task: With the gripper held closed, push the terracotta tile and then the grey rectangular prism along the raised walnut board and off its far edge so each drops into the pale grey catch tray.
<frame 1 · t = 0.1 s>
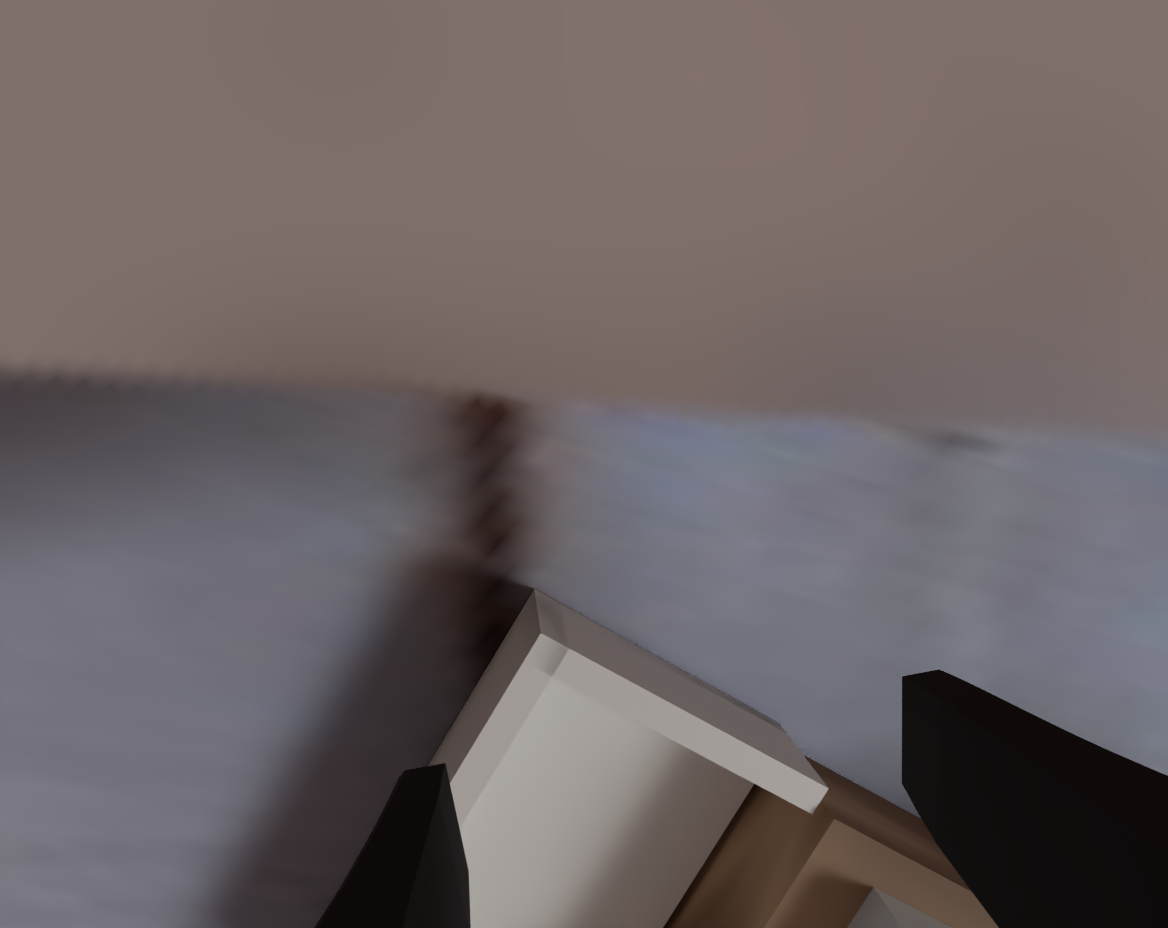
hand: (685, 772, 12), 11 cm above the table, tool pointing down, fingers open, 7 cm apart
tray: (547, 841, 23), on the table
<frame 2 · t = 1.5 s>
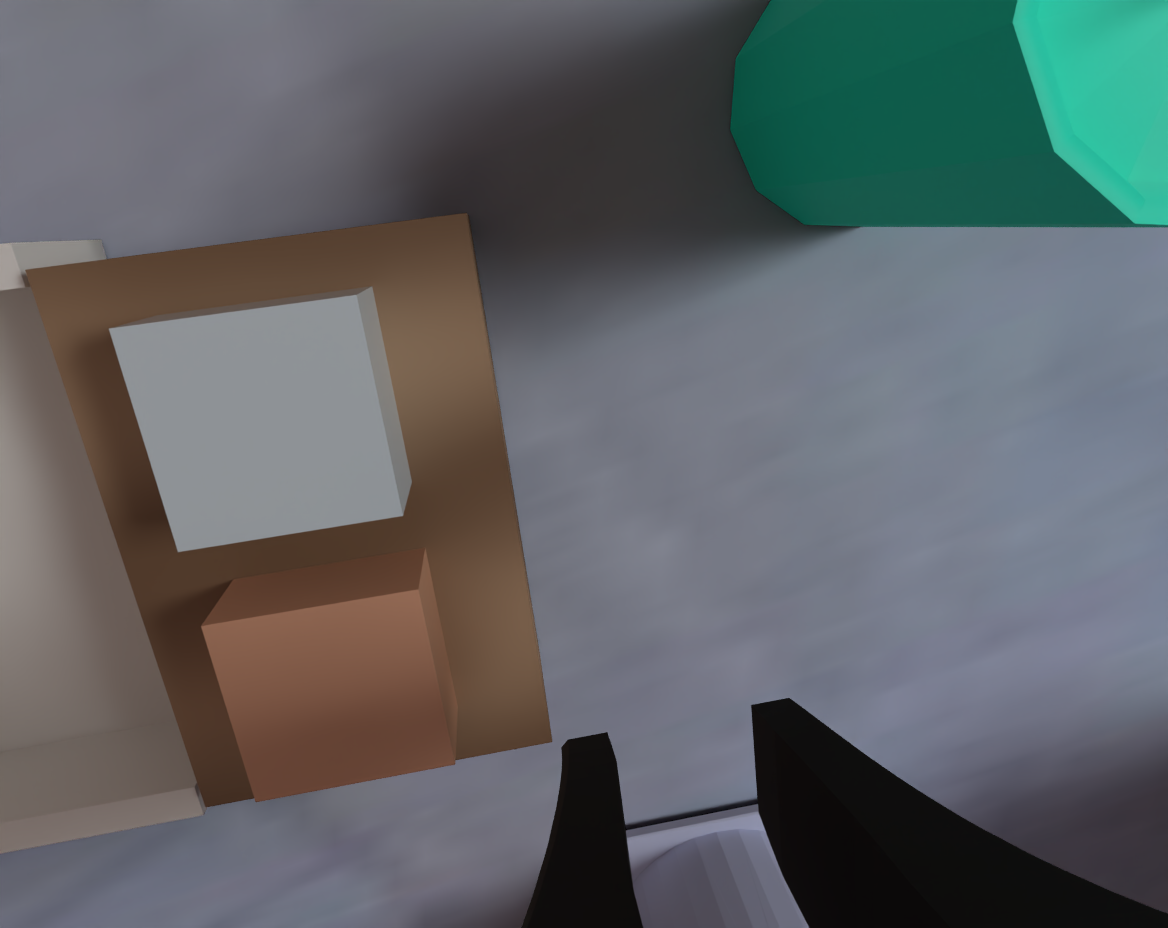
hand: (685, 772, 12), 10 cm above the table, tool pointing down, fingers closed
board: (353, 478, 20), on the table
tile terracotta: (350, 646, 17), point 4 cm above the table, touching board
candle: (844, 102, 19), on the table
tray: (3, 533, 19), on the table
grey rectangular prism: (290, 402, 15), point 4 cm above the table, touching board
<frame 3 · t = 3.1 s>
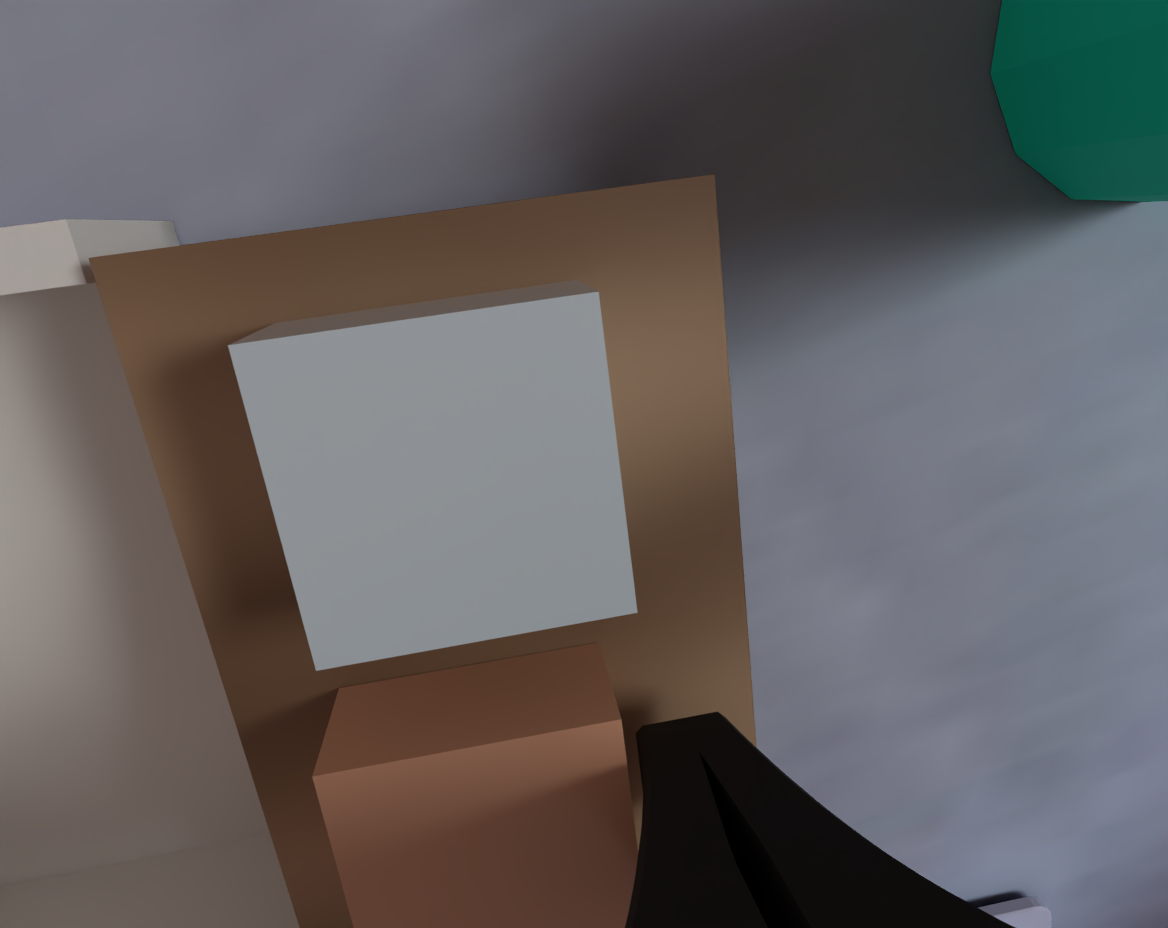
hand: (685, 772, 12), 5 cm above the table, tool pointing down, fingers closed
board: (486, 529, 16), on the table
tile terracotta: (491, 772, 13), point 4 cm above the table, touching gripper
candle: (1133, 38, 15), on the table
tray: (39, 604, 15), on the table
grey rectangular prism: (455, 444, 11), point 4 cm above the table, touching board
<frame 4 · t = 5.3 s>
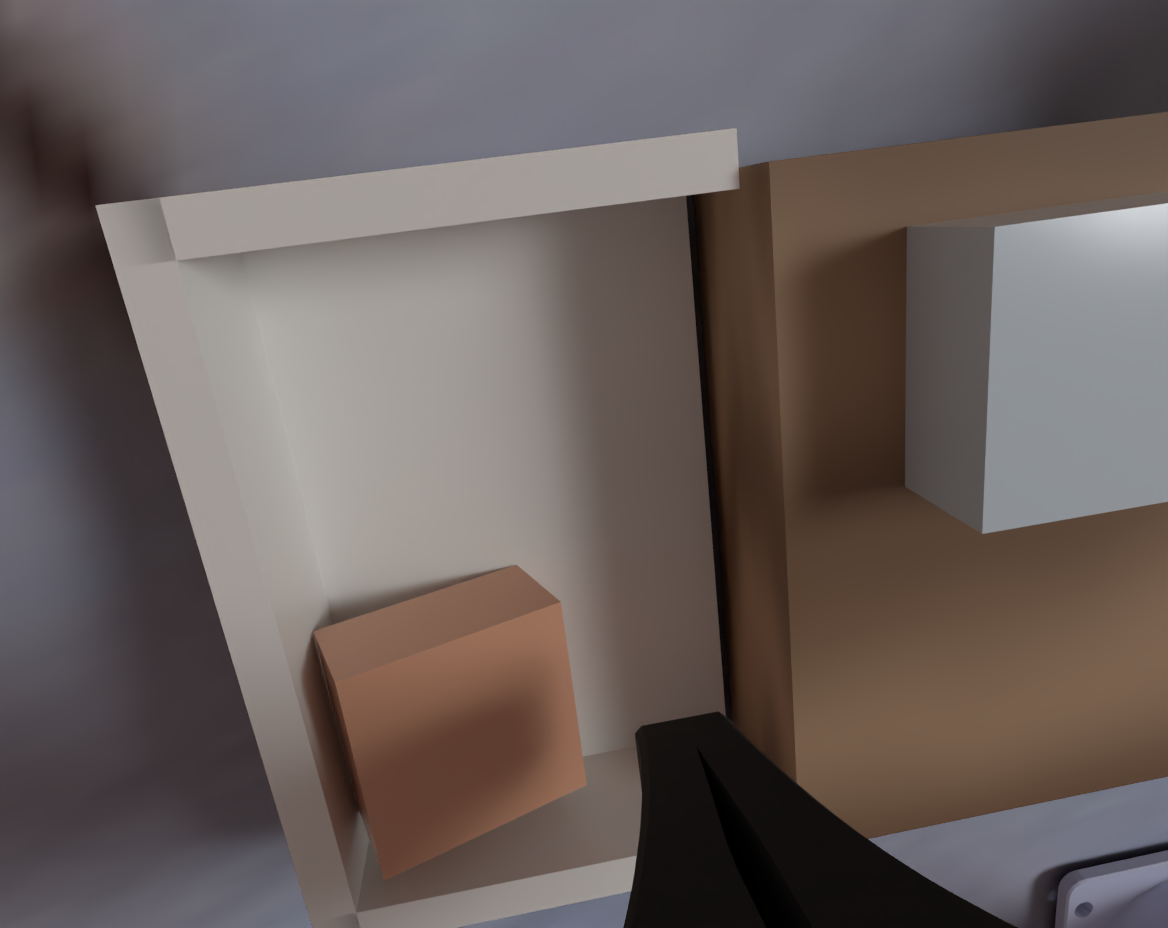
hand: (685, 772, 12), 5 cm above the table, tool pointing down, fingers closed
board: (895, 451, 17), on the table
tile terracotta: (474, 739, 14), point 3 cm above the table, tilted 159°, touching tray
tray: (496, 515, 16), on the table
grey rectangular prism: (1028, 344, 12), point 4 cm above the table, touching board
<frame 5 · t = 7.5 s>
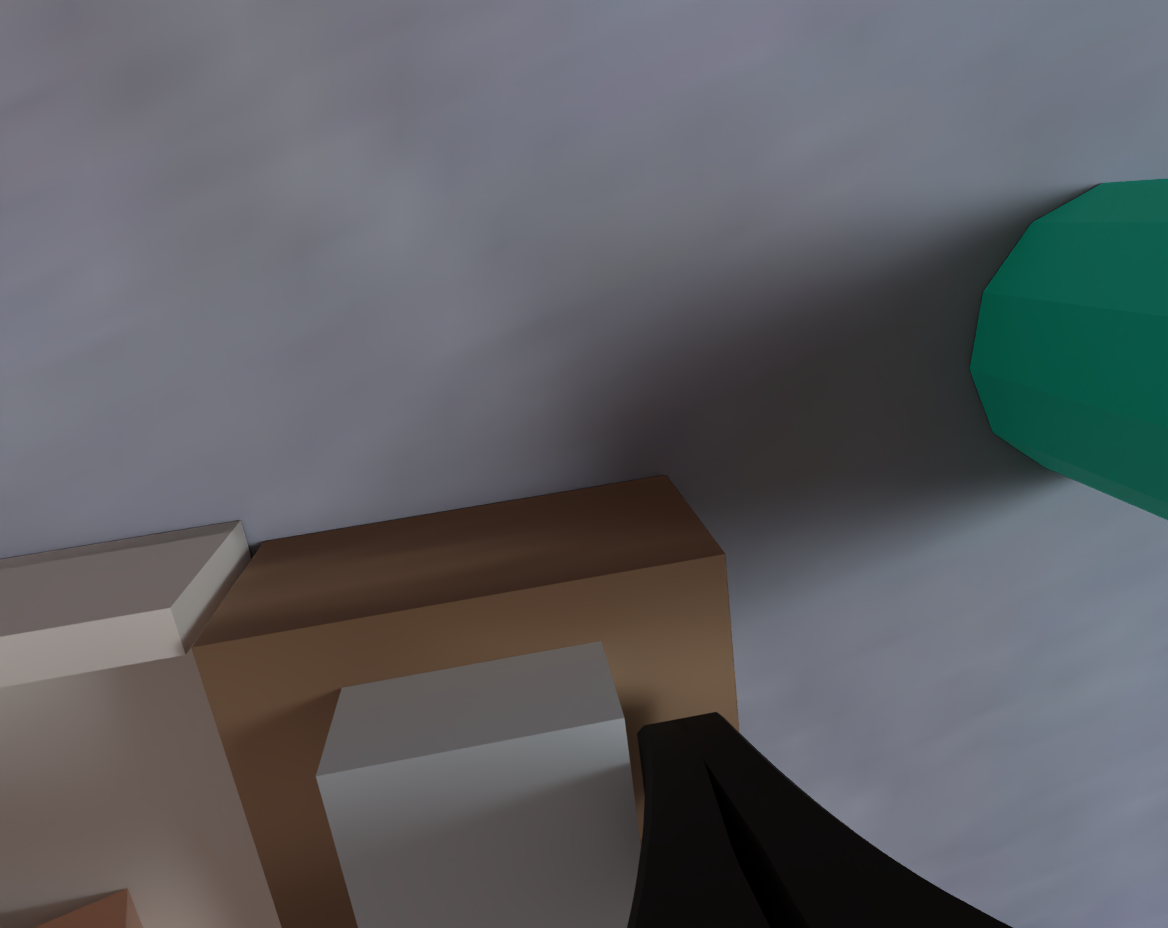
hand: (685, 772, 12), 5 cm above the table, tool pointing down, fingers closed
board: (515, 758, 17), on the table
candle: (1098, 331, 16), on the table
tray: (114, 835, 17), on the table
grey rectangular prism: (494, 771, 13), point 4 cm above the table, touching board, gripper
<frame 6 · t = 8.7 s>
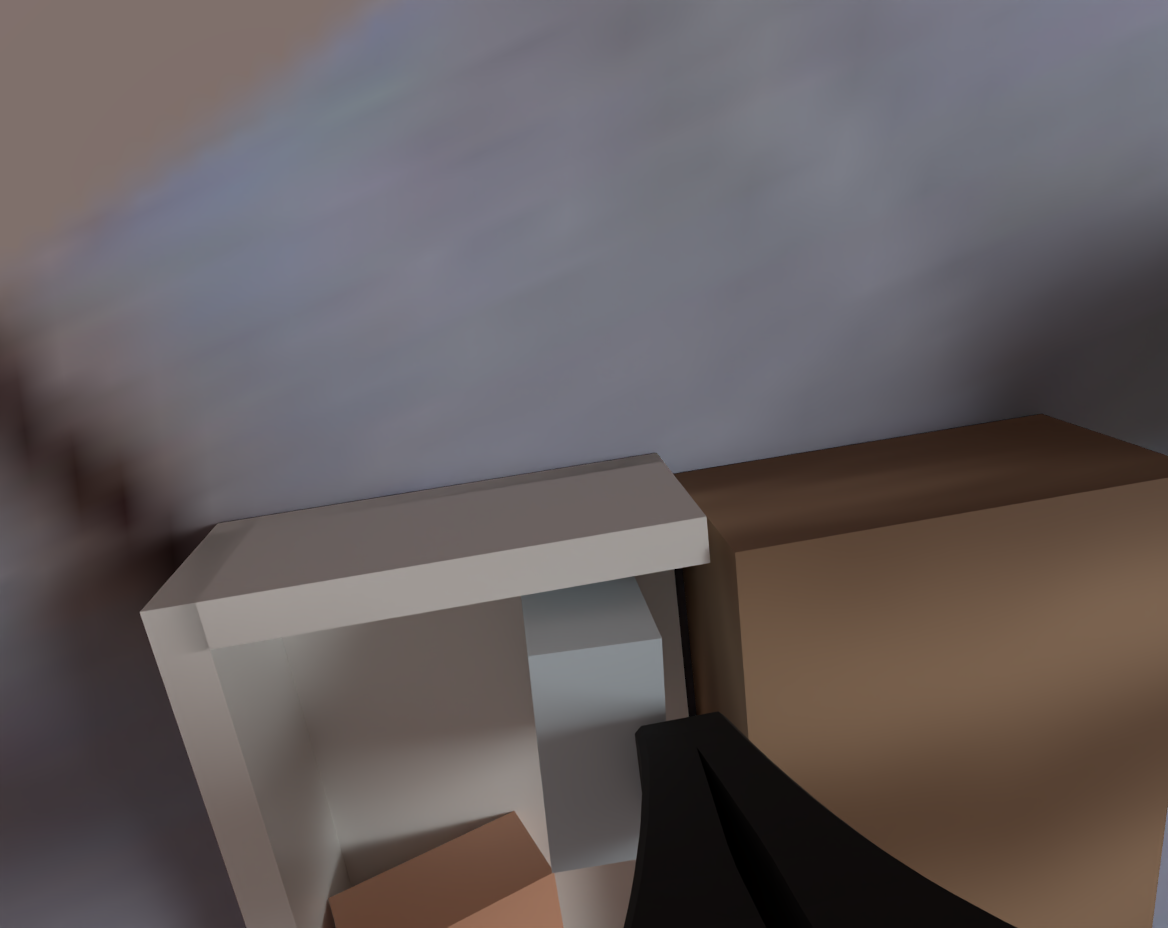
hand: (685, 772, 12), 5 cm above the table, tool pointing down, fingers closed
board: (865, 690, 18), on the table
tray: (495, 761, 17), on the table
grey rectangular prism: (642, 680, 14), point 3 cm above the table, tilted 90°, touching tray
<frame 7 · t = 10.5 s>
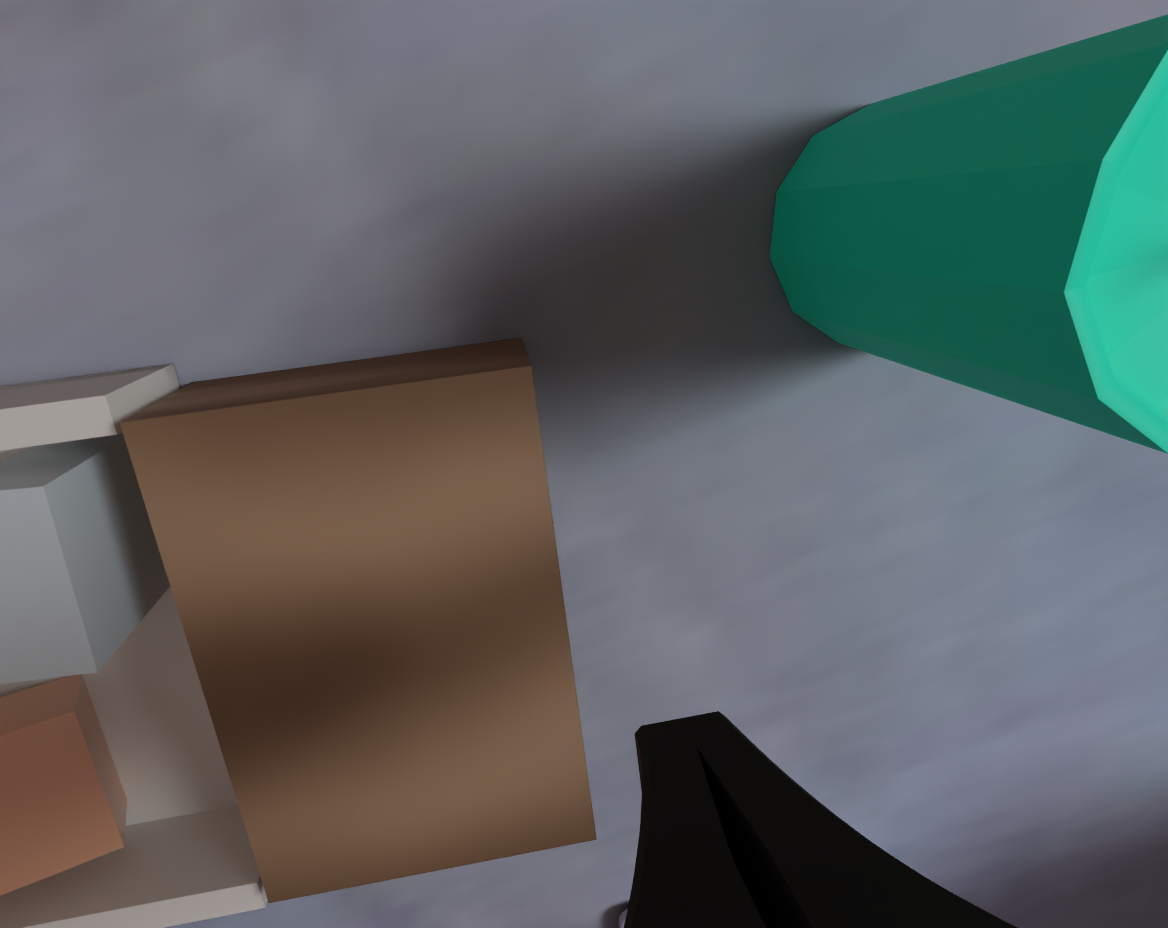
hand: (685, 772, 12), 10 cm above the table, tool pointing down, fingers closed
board: (404, 579, 21), on the table
tile terracotta: (1, 816, 18), point 3 cm above the table, tilted 159°, touching tray
candle: (877, 229, 20), on the table
tray: (71, 632, 20), on the table
grey rectangular prism: (116, 543, 17), point 3 cm above the table, tilted 90°, touching tray
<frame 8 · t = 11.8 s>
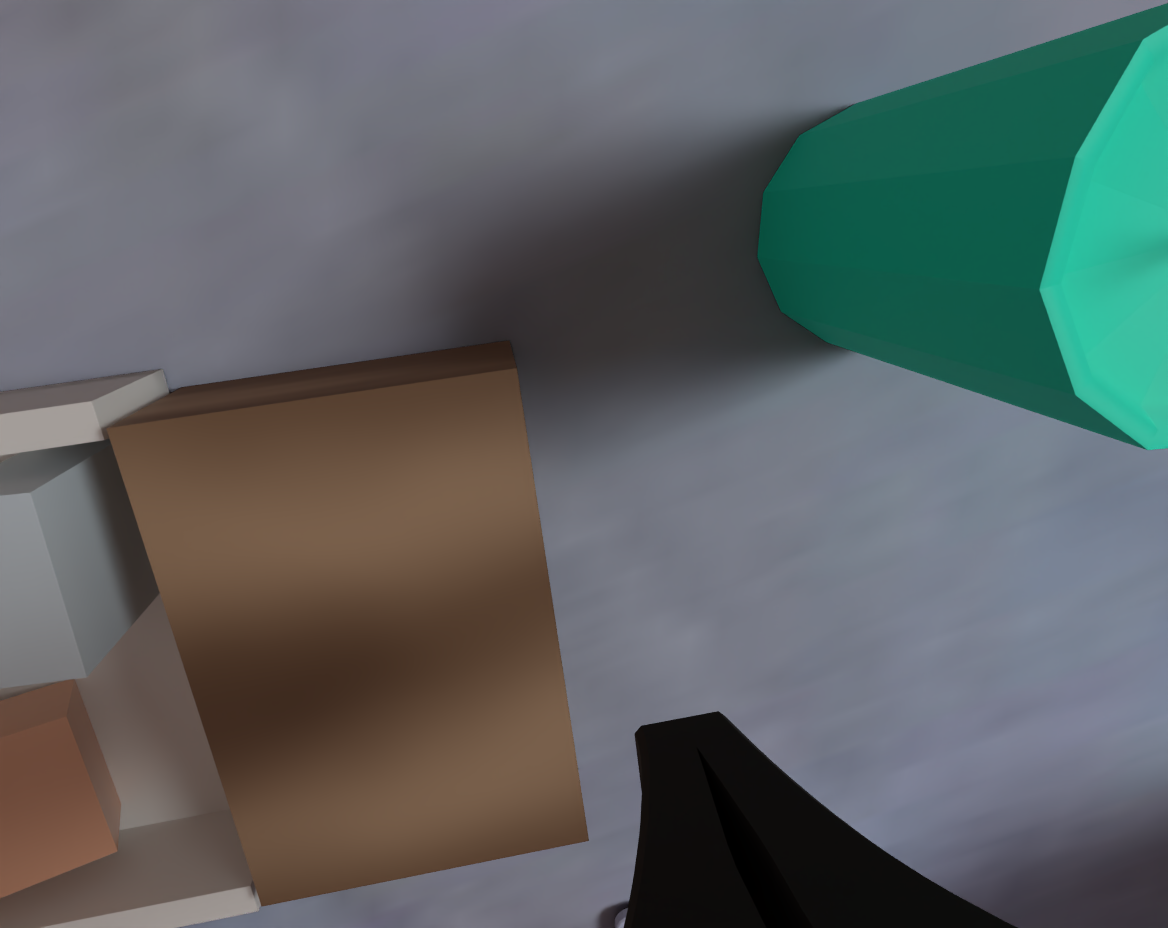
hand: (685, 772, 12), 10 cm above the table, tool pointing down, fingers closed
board: (396, 582, 21), on the table
candle: (865, 228, 20), on the table
tray: (64, 637, 20), on the table
grey rectangular prism: (106, 548, 17), point 3 cm above the table, tilted 90°, touching tray
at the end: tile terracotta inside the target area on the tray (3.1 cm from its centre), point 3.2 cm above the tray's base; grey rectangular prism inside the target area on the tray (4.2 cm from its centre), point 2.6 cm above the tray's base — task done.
